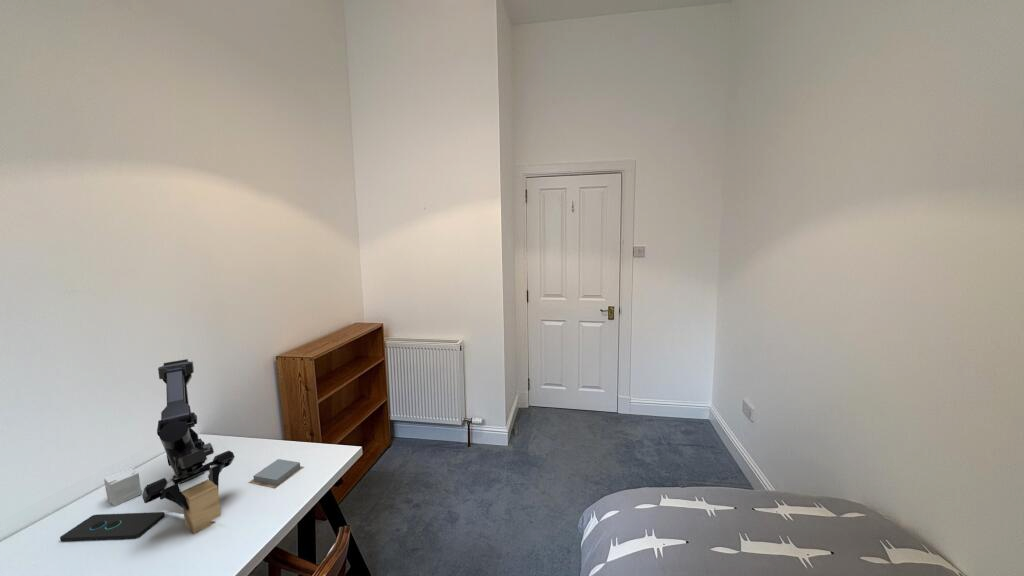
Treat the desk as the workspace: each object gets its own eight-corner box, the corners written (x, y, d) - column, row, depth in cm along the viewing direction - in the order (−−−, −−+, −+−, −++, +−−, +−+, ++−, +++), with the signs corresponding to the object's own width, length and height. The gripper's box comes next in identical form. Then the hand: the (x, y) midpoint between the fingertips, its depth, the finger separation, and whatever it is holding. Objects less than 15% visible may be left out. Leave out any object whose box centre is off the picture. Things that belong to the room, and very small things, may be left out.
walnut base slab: (248, 488, 111) (247, 482, 111) (279, 467, 122) (279, 462, 122) (275, 494, 108) (274, 488, 108) (305, 472, 119) (304, 466, 119)
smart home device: (93, 513, 99) (166, 511, 100) (94, 519, 99) (167, 516, 100) (57, 538, 91) (136, 534, 91) (58, 544, 91) (137, 540, 92)
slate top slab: (254, 481, 112) (253, 475, 111) (278, 464, 120) (278, 458, 120) (276, 485, 110) (276, 479, 109) (300, 467, 118) (299, 462, 118)
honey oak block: (185, 525, 96) (180, 491, 95) (212, 511, 101) (208, 479, 100) (194, 534, 93) (189, 499, 92) (221, 519, 98) (217, 486, 97)
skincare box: (135, 488, 111) (131, 466, 110) (142, 494, 108) (138, 472, 108) (106, 500, 106) (103, 478, 105) (113, 507, 103) (109, 484, 102)
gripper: (139, 457, 88) (160, 513, 84) (228, 424, 104) (250, 470, 100) (134, 476, 93) (154, 530, 89) (219, 442, 109) (240, 486, 105)
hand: (202, 502), depth 95 cm, fingers closed on honey oak block, 6 cm apart
